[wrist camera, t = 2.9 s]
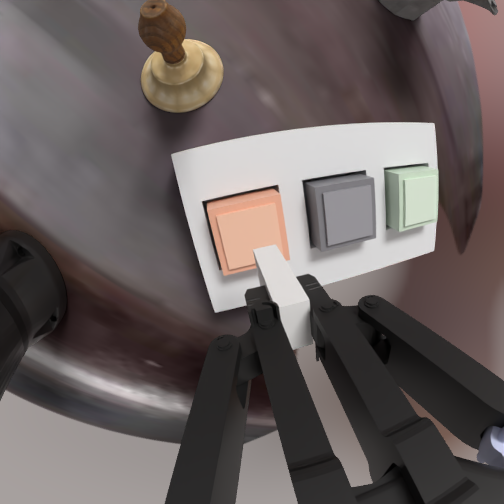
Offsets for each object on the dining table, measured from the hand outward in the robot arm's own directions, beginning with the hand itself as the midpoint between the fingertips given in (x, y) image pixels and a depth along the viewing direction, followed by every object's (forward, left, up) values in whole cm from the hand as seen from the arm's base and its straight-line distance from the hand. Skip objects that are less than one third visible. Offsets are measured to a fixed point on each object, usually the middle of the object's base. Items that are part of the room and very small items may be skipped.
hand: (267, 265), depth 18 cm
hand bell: (-3, +16, -12) cm, 21 cm away
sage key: (+18, 0, -9) cm, 20 cm away
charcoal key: (+9, 0, -9) cm, 12 cm away
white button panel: (+9, 0, -12) cm, 15 cm away
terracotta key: (0, 0, -9) cm, 9 cm away
